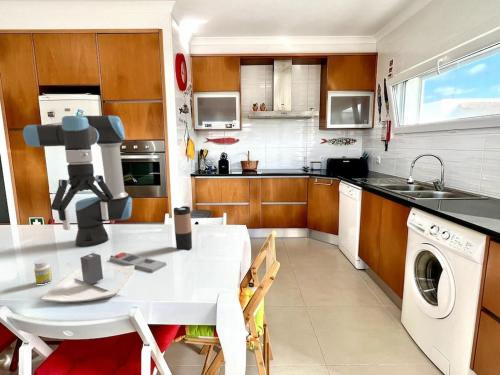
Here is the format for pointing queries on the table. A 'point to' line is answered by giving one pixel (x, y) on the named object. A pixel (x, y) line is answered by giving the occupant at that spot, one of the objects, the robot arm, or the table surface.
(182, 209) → the travel mug
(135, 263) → the power strip
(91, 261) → the block
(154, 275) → the table surface
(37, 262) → the supplement bottle
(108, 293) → the plate
